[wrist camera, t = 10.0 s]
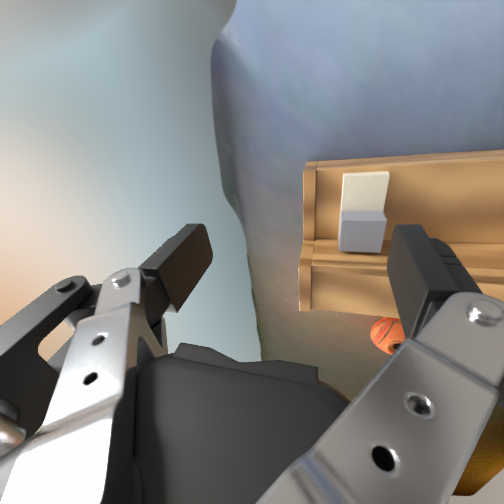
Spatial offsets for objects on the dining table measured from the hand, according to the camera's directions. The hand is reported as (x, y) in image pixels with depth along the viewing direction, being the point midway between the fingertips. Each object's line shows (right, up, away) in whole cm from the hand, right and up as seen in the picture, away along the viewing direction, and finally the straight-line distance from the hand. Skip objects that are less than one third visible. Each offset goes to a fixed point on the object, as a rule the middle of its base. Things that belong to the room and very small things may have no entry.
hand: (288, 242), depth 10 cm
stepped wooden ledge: (+18, +3, +21) cm, 28 cm away
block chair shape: (+11, +5, +17) cm, 21 cm away
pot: (+23, -12, +30) cm, 40 cm away
